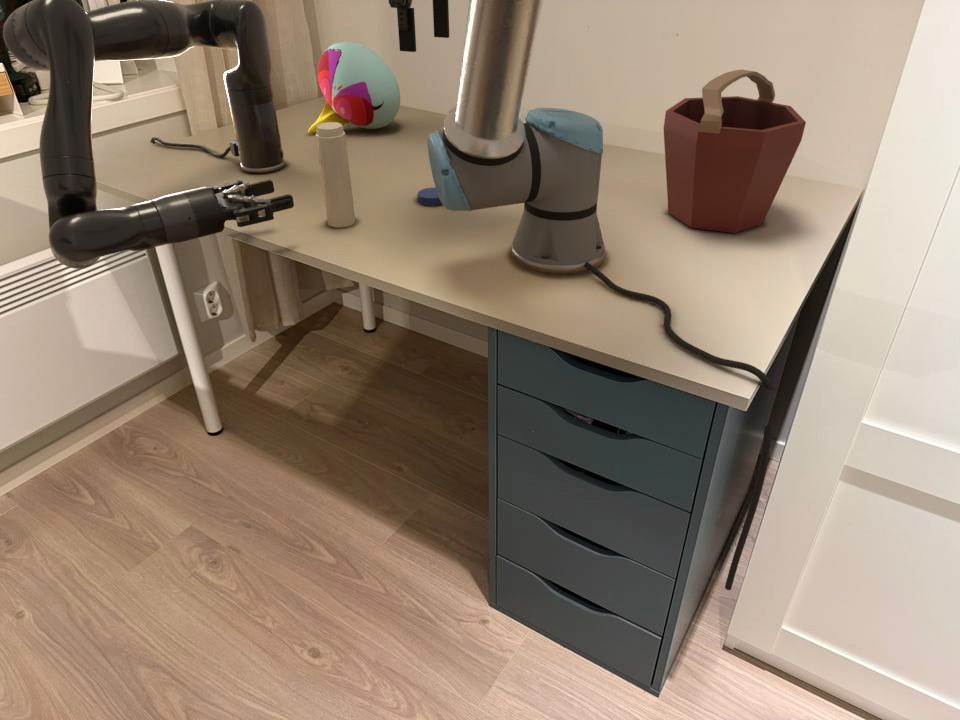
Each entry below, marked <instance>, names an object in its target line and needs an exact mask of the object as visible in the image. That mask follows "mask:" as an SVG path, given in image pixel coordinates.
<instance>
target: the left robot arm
mask: <svg viewBox="0 0 960 720" xmlns="http://www.w3.org/2000/svg"><path fill="white" fill-rule="evenodd" d="M2 29H3V30H2V37H3V40H4V43H5V46H6V48H7V49H8V51H9V52H10V53H11V55H12V56H13V57H14V58H15V59H16V60H18V61H19V62H20V63H22V64H24V65H25V66H27V67H29V68H31V69H34V70H37V71H42V72H49V88H48V89H49V90H48V96H47V97H48V98H47V103H46V108H45V112H44V115H43V119H42V120H43V121H42V123H41V129H40V135H39V146H38V147H39V162H40V169H41V170H40V171H41V180H42V186H43V191H44V195H45V198H46V201H47V213H48V230H49V231H48V241H49V243H48V244H49V247H50V250H51V251H50V252H51V253H52V255H53V257H54V258H55V259H56V260H57V261H58V262H59V263H60V264H61V265H64V266H65V267H68V268H69V269H76V270H77V269H78V270H80V269H82V270H83V269H88V268H89V267H91V266H93V265H95V264H96V263H97V262H98V261H99V260H100V258H101V257H106V256H109V255H113V254H117V253H122V252H126V251H130V252H140V251H145V250H150V249H153V248H158V247H162V246H165V245H170V244H178V243H179V244H180V243H183V242H188V241H192V240H196V239H199V238H202V237H207V236H211V235H215V234H218V233H222V232H223V231H224V229H225V223H226V222H227V221H236V225H237V227H238V228H243V227H247V226H251V225H257V224H260V223H264V222H269V221H273V220H274V219H275V216H274V213H278V212H281V211H285V210H290V209H293V208H294V207H295V203H294V198H293V195H291V194H289V193H287V194H283V195H279V196H274V197H271V198H258V197H261V196H264V195H268V194H274V192H275V186H274V181H273V180H271V179H265V180H261V181H257V182H253V183H250V182H244V181H243V180H242V179H241V180H238V179H237V180H235V181H231V182H227V183H223V184H219V185H214V186H211V187H209V186H202V187H198V188H193V189H188V190H184V191H180V192H175V193H170V194H167V195H163V196H159V197H157V198H154V199H151V200H147V201H144V202H138V203H134V204H130V205H126V206H123V207H119V208H118V207H117V208H107V209H98V208H97V195H98V186H97V176H96V166H95V165H96V164H95V157H94V149H93V137H92V136H93V134H92V115H93V91H94V72H95V62H103V61H104V62H105V61H136V60H137V61H138V60H156V59H166V58H172V57H178V56H180V55H182V54H184V53H185V52H187V51H188V50H189V49H191V48H201V47H202V48H213V49H221V50H227V51H237V56H238V64H237V65H236V66H235V67H232V68H229V69H227V70H226V71H225V72H224V73H223V81H224V86H225V90H226V91H225V92H226V96H227V100H228V104H229V110H230V115H231V121H232V125H233V131H234V135H235V140H229V141H228V142H229V146H228V147H226V149H225V150H224V151H223V152H221V153H216V152H215V151H213V150H212V149H210V148H209V147H207V146H205V145H201V144H194V143H178V142H169V141H165V140H163V139H161V138H160V137H158V136H156V135H155V136H153V137H152V138H150V141H149V142H150V143H154V142H155V141H157V142H158V143H160V144H161V145H163V146H167V147H173V148H191V149H200V150H203V151H206V152H207V153H208V154H210V155H212V156H213V157H215V158H219V159H221V158H225V157H226V156H227V155H228V154H230V153H231V155H232V156H234V157H235V158H238V157H239V161H240V168H241V170H242V171H244V172H245V173H251V174H266V173H271V172H276V171H279V170H282V168H284V167H285V166H286V161H285V153H284V150H283V145H282V139H281V134H280V133H281V131H280V128H279V122H278V121H279V120H278V115H277V109H276V104H275V103H276V102H275V98H274V92H273V86H272V79H271V75H272V58H271V50H270V49H271V48H270V42H269V41H270V40H269V32H268V26H267V20H266V17H265V14H264V13H263V10H262V8H261V7H260V6H259V5H258V3H256V2H255V1H253V0H207V1H204V2H196V3H191V4H182V3H179V2H175V1H171V0H129V1H124V2H123V1H122V2H119V3H115V4H111V5H106V6H103V7H99V8H96V9H93V10H88V11H86V10H85V8H83V7H82V6H81V5H80V3H78V2H77V1H76V0H31V1H29V2H27V3H25V4H23V5H21V6H20V7H17V8H16V9H15V10H13V12H11V13H10V15H8V17H7V18H6V20H5V22H4V25H3V28H2Z"/></svg>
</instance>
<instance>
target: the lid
mask: <svg viewBox="0 0 960 720" xmlns="http://www.w3.org/2000/svg"><path fill="white" fill-rule="evenodd" d="M416 196H417V203H419V204H420V205H422V206H427V207H436V206H441V205H442V203H441V201H440V199H439V196H438V193H437V190H436V187H426V188H423V189H420V190H418V191H417V195H416ZM442 206H443V205H442Z"/></svg>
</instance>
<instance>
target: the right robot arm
mask: <svg viewBox="0 0 960 720" xmlns="http://www.w3.org/2000/svg"><path fill="white" fill-rule="evenodd" d="M388 4H389V7H390V8H391V9H396V15H397V31H398V44H399V52H408V53H416V52H417V38H416V20H415V19H416V17H415V7H412V4H413V0H388ZM543 4H544V0H468V8H467V17H466V24H465V25H466V26H465V35H464V43H463V50H462V51H463V52H462V59H461V68H460V76H459V77H460V78H459V85H458V91H457V92H458V94H457V101H456V105H455V106H453V107H452V108H450V110H449V111H448V112H447V113H446V115H445V117H444V120H443V127H442V131H440V130H435V131H434V132H431V133H430V134H429V135H428V137H427V152H428V154H427V155H428V161H429V166H430V172H431V175H432V179H433V183H434V188H436V190H437V193H438V196H439V199H440V201H441V203H442V206H443V207H444V208H445V209H446V210H448V211H451V212H473V211H476V210H484V209H490V208H491V209H492V208H497V207H505V206H512V205H519V204H523V212H522V215H521V218H520V220H519V224H518V226H517V229H516V232H515V234H514V237H513V240H512V243H511V244H512V245H511V257H512V259H513V261H514V262H515V263H516V264H517V265H519V267H521V268H524V269H526V270H528V271H530V272H532V273H533V272H534V273H537V274H541V275H547V276H558V277H559V276H560V277H561V276H573V275H574V276H575V275H580V274H584V273H588V272H590V273H592V274H593V275H594V276H596V277H597V278H598V279H599V280H600V281H601V282H603V283H604V284H605V285H606V286H607V287H609V289H611V290H612V291H614V292H616V293H618V294H620V295H622V296H624V297H629V298H633V299H637V300H641V301H646V302H650V303H653V304H655V305H657V306H659V307H660V308H661V309H662V310H663V313H664V316H663V329H664V332H665V333H666V335H667V336H668V337H669V339H670V340H672V342H674V343H675V344H676V345H678V346H680V347H681V348H683V349H685V350H686V351H688V352H690V353H692V354H694V355H696V356H698V357H700V358H702V359H703V360H706V361H708V362H710V363H713V364H715V365H718V366H721V367H722V366H723V367H726V368H733V369H738V370H741V371H746V372H748V373H750V374H752V375H754V376H755V377H756V378H758V379H759V380H760V381H761V383H762V384H763V386H764V387H765V389H767V390H770V391H774V390H775V386H774V385H773V382H772V381H771V380H770V378H769V377H768V376H767V375H766V373H764V372H763V371H762V370H761V369H759V368H758V367H756V366H754V365H751V364H749V363H746V362H742V361H738V360H731V359H728V358H722V357H719V356H716V355H713V354H711V353H709V352H707V351H706V350H703V349H701V348H699V347H697V346H695V345H693V344H692V343H689V342H687V341H686V340H684V339H683V338H682V337H680V335H678V334H677V333H676V332H675V331H674V330H673V328H672V326H671V321H672V311H671V308H670V306H669V305H668V303H667V302H665V301H664V300H662V299H661V298H659V297H656V296H654V295H651V294H646V293H643V292H642V293H641V292H637V291H633V290H629V289H626V288H624V287H621V286H619V285H617V284H615V283H614V282H613V281H612V280H611V279H610V278H608V277H607V276H606V275H605V274H604V273H602V271H600V270H599V269H598V267H599V266H600V265H601V264H602V263H603V261H604V258H605V249H606V247H605V242H604V239H603V233H602V230H601V226H600V222H599V218H598V213H597V212H598V201H599V200H598V199H599V189H600V179H601V171H602V170H601V169H602V159H603V154H604V129H603V126H602V124H601V123H600V121H598V120H597V119H596V118H595V117H592V116H591V115H589V114H585V113H583V112H579V111H575V110H570V109H564V108H556V107H535V108H533V109H530V110H528V111H527V113H526V115H525V118H524V119H525V122H523V120H522V119H521V118H520V111H521V107H522V102H523V97H524V92H525V87H526V83H527V78H528V75H529V70H530V65H531V59H532V54H533V51H534V46H535V40H536V36H537V31H538V27H539V23H540V17H541V12H542V7H543ZM449 7H450V6H449V0H432V18H433V37H434V38H442V39H443V38H445V39H448V38H450V15H449V13H450V11H449ZM773 425H774V424H773V422H771V423H769V424H767V425H765V426H764V428H763V439H762V446H761V454H760V460H759V465H758V471H757V477H756V481H755V484H754V489H753V493H752V496H751V500H750V503H749V506H748V510H747V512H746V516H745V519H744V523H743V526H742V528H741V532H740V535H739V539H738V541H737V544H736V546H735V547H736V548H735V550H734V553H733V557H732V560H731V563H730V567H729V570H728V574H727V577H726V581H725V586H724V589H725V590H727V591H731V590H732V589H733V584H734V580H735V576H736V574H737V570H738V566H739V564H740V560H741V557H742V554H743V552H744V551H743V550H744V548H745V546H746V545H745V544H746V542H747V539H748V536H749V532H750V530H751V527H752V524H753V521H754V518H755V515H756V511H757V508H758V505H759V501H760V498H761V494H762V492H763V491H762V490H763V487H764V482H765V478H766V474H767V468H768V463H769V457H770V452H771V445H772V444H771V443H772V436H773V435H772V434H773Z"/></svg>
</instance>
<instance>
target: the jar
mask: <svg viewBox="0 0 960 720" xmlns="http://www.w3.org/2000/svg"><path fill="white" fill-rule="evenodd" d="M315 139H316V148H317V154H318V161H319V169H320V176H321V185H322V191H323V197H324V205H325V212H326V213H325V214H326V219H327V225H328V226H329V227H332V228H338V229H340V228H347V227H351V226H352V225H354V224H355V223H356V216H355V207H354V199H353V189H352V182H351V181H352V180H351V173H350V163H349V156H348V147H347V138H346V132H345V131H344V125H342V124H340V123H336V122H327V123H322V124H319V125H317V133H315Z"/></svg>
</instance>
